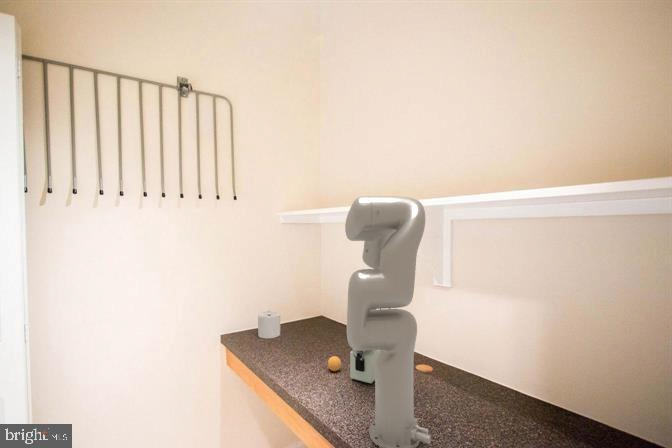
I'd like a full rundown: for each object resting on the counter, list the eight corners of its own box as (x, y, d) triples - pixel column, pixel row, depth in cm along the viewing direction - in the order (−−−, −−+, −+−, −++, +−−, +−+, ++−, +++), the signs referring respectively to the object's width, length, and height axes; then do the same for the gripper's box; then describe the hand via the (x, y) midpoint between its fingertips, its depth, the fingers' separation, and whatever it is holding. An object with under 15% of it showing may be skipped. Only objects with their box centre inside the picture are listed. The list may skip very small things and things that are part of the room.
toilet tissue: (265, 340, 152) (264, 318, 152) (252, 334, 161) (252, 314, 161) (284, 335, 159) (284, 314, 159) (271, 329, 168) (271, 310, 168)
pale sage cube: (380, 374, 114) (380, 349, 114) (370, 383, 107) (370, 356, 107) (361, 369, 118) (360, 345, 118) (350, 377, 111) (350, 352, 112)
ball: (343, 369, 120) (343, 355, 120) (336, 374, 116) (336, 360, 116) (332, 366, 123) (332, 353, 123) (324, 371, 119) (324, 357, 119)
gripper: (367, 308, 122) (367, 355, 122) (343, 319, 108) (343, 373, 107) (385, 311, 118) (385, 359, 118) (363, 323, 103) (363, 378, 103)
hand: (365, 365), depth 113 cm, fingers closed on pale sage cube, 7 cm apart
